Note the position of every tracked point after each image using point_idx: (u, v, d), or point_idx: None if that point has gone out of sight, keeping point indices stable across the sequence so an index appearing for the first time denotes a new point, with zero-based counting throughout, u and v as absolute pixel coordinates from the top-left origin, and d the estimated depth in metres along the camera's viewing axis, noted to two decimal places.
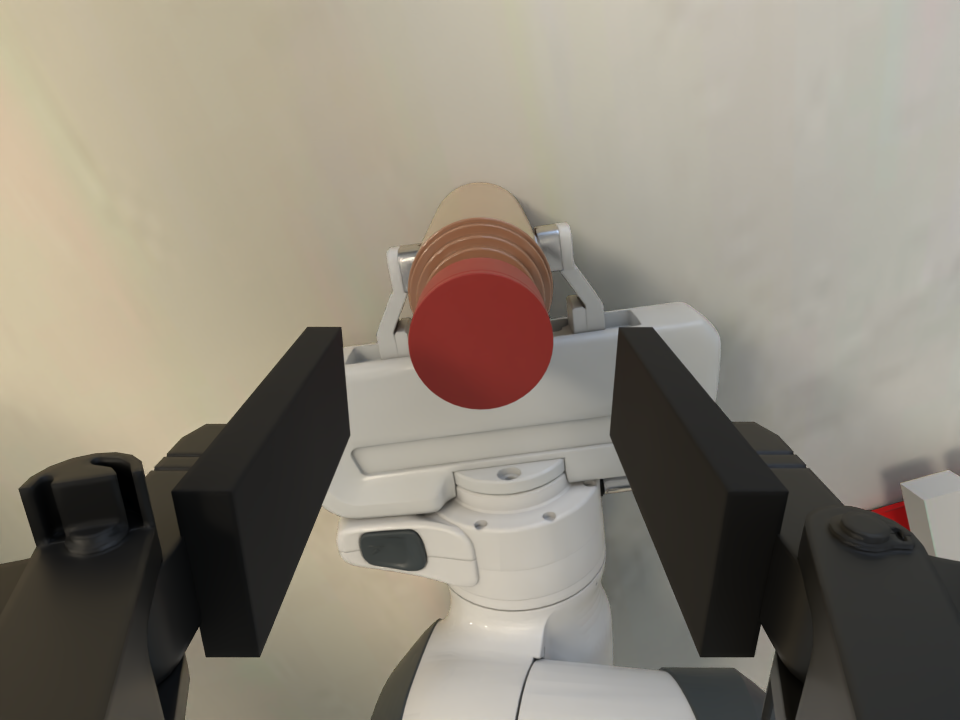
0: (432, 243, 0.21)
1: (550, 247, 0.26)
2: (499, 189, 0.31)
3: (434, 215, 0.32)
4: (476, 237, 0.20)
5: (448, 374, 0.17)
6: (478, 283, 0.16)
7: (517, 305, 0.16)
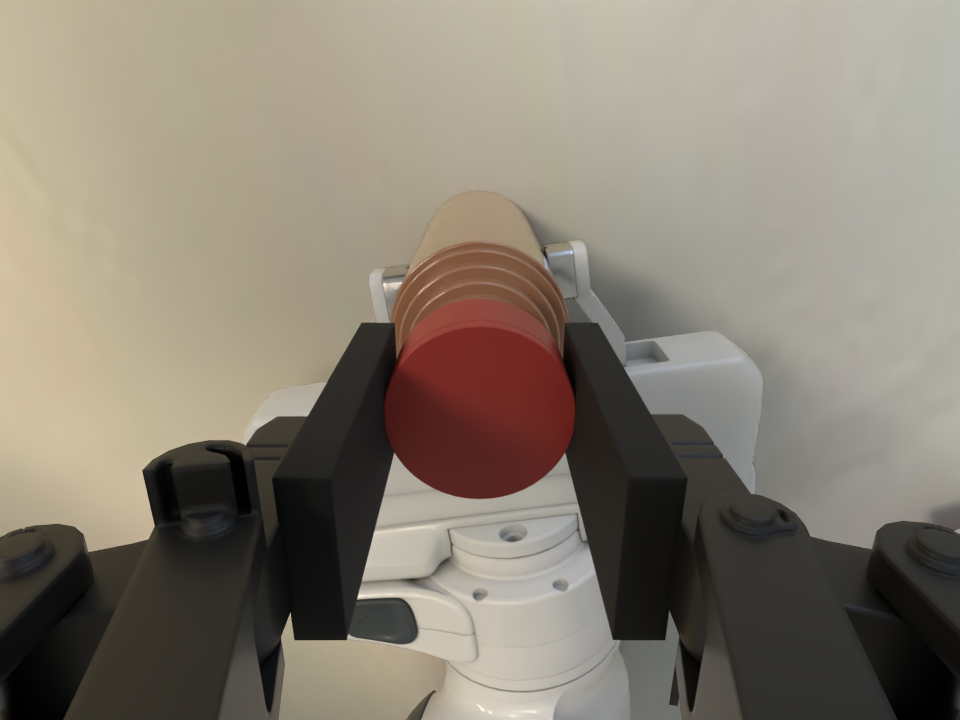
0: (419, 274, 0.16)
1: (562, 270, 0.22)
2: (501, 199, 0.27)
3: None
4: (474, 267, 0.16)
5: (437, 455, 0.13)
6: (476, 339, 0.12)
7: (528, 367, 0.12)
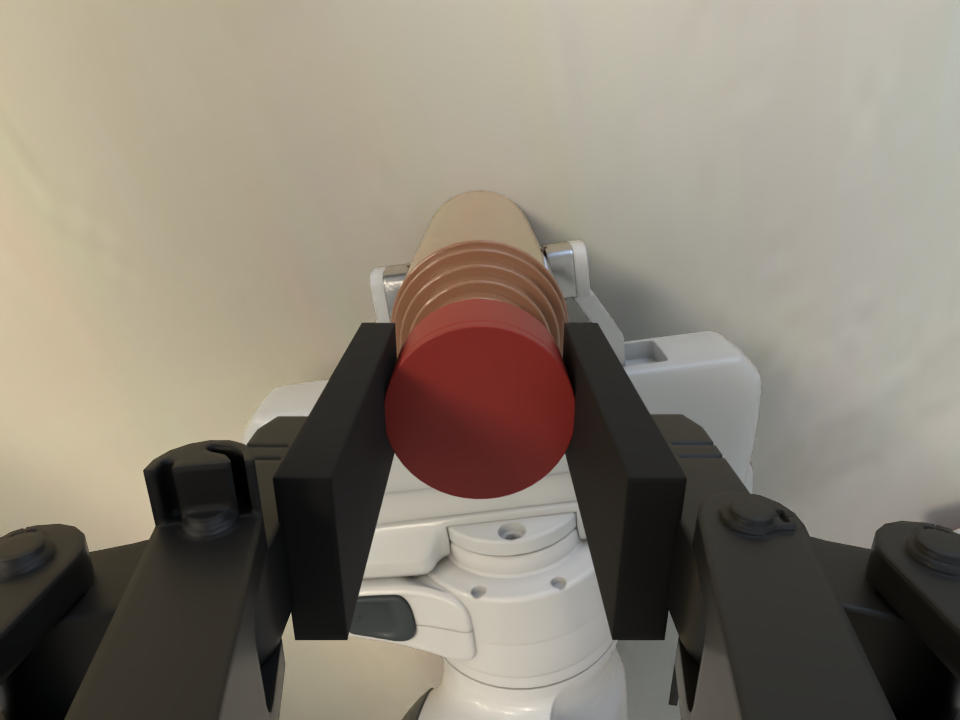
0: (420, 272, 0.17)
1: (562, 270, 0.22)
2: (502, 199, 0.27)
3: None
4: (475, 266, 0.16)
5: (534, 440, 0.13)
6: (404, 445, 0.13)
7: (412, 394, 0.12)
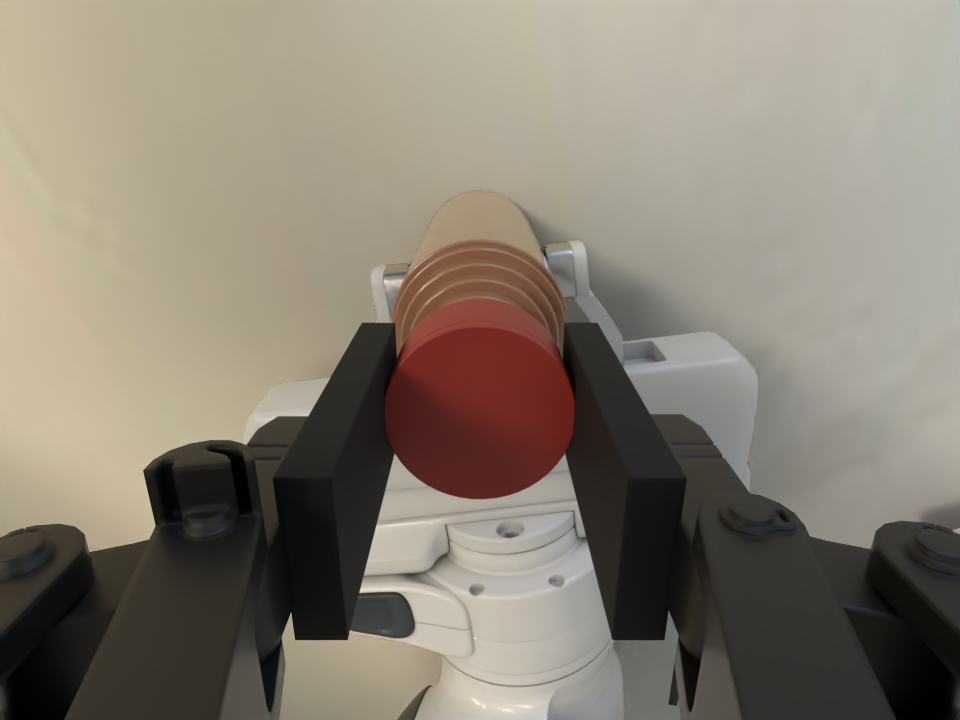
0: (421, 271, 0.17)
1: (562, 270, 0.22)
2: (502, 199, 0.27)
3: None
4: (475, 265, 0.16)
5: (484, 361, 0.12)
6: (534, 470, 0.13)
7: (479, 479, 0.13)
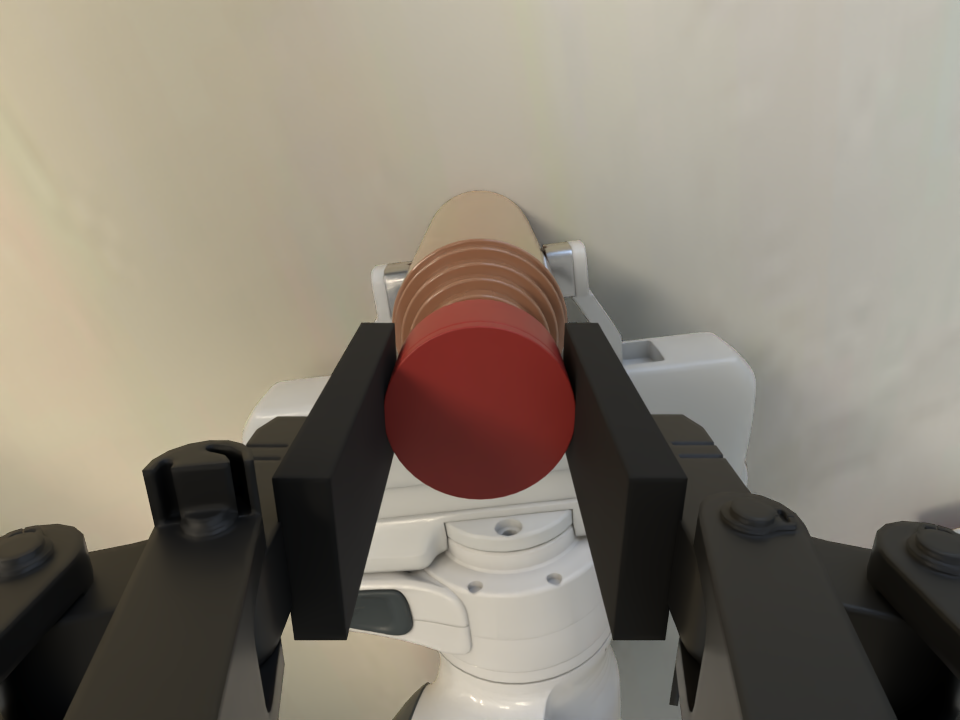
0: (422, 269, 0.17)
1: (561, 270, 0.23)
2: (502, 199, 0.27)
3: None
4: (476, 264, 0.16)
5: (421, 433, 0.13)
6: (518, 348, 0.12)
7: (548, 396, 0.12)
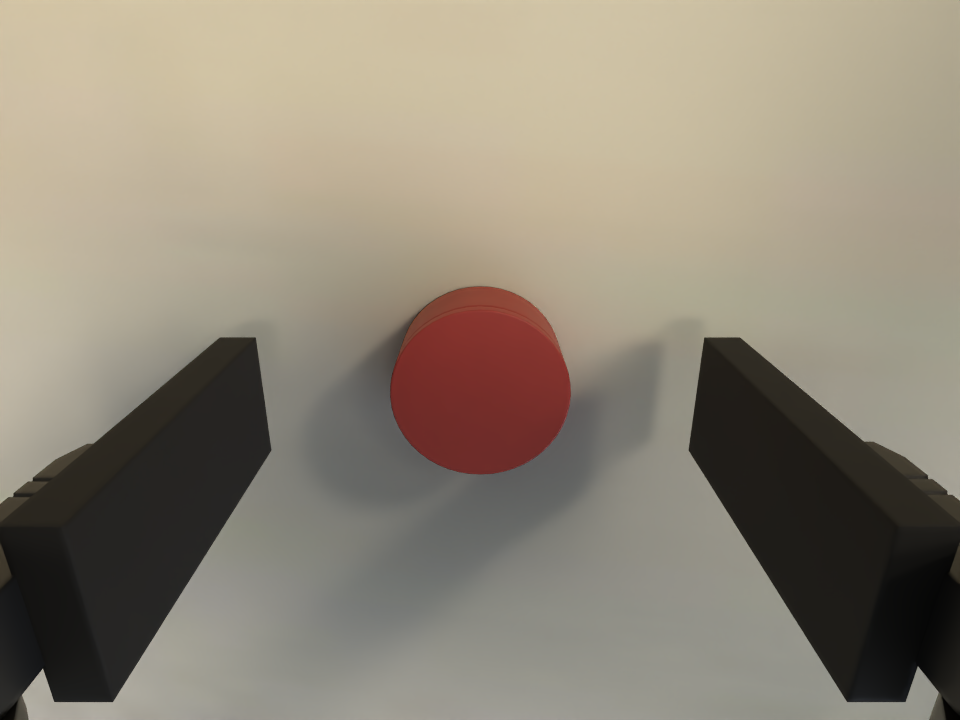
0: None
1: None
2: None
3: None
4: None
5: (425, 411, 0.14)
6: (516, 331, 0.13)
7: (544, 375, 0.13)
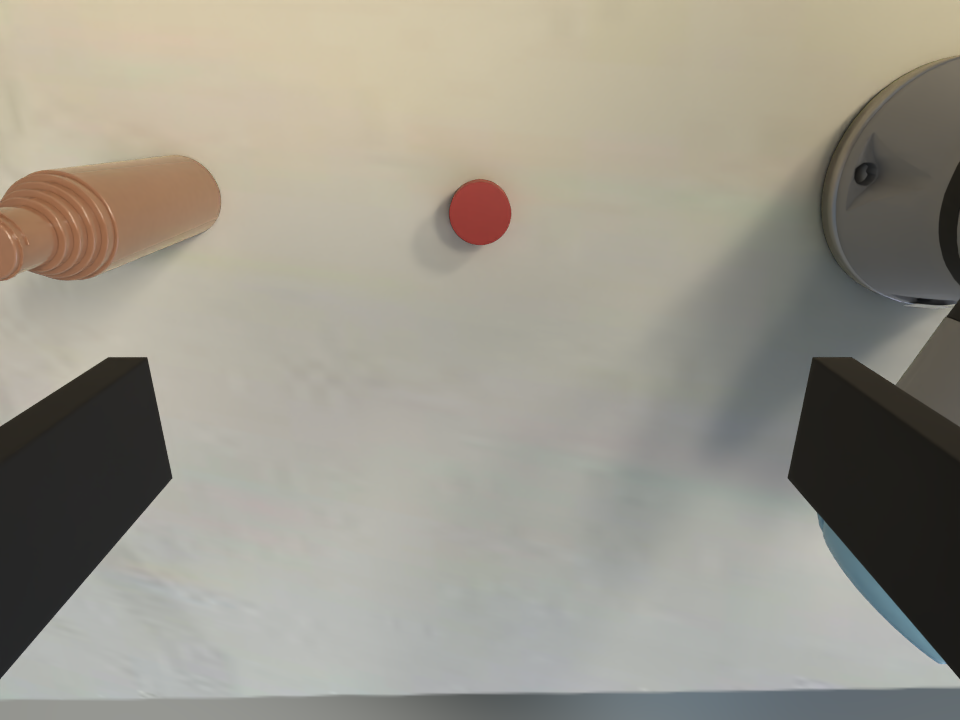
0: (99, 211, 0.28)
1: None
2: (203, 227, 0.40)
3: (197, 168, 0.39)
4: (93, 245, 0.28)
5: (461, 219, 0.39)
6: (492, 189, 0.39)
7: (501, 206, 0.39)
